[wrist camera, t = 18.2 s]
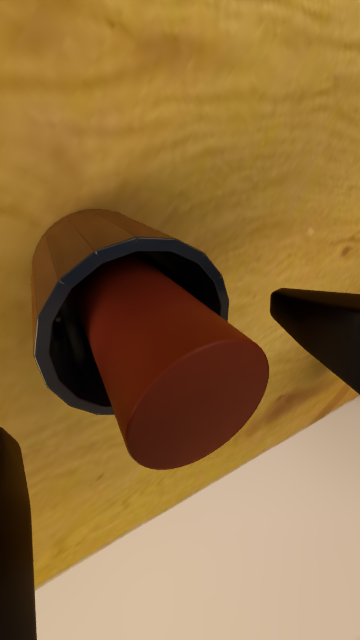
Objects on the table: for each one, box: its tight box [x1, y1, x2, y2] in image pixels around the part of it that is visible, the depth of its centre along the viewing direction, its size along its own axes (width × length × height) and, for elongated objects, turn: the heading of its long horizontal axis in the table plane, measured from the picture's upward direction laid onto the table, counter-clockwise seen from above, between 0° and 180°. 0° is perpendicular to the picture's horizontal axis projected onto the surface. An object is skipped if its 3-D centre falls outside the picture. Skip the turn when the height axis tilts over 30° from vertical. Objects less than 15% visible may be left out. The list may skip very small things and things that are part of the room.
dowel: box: [71, 252, 269, 470], centre depth 10 cm, size 4×4×10 cm
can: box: [31, 209, 229, 415], centre depth 11 cm, size 7×7×7 cm
